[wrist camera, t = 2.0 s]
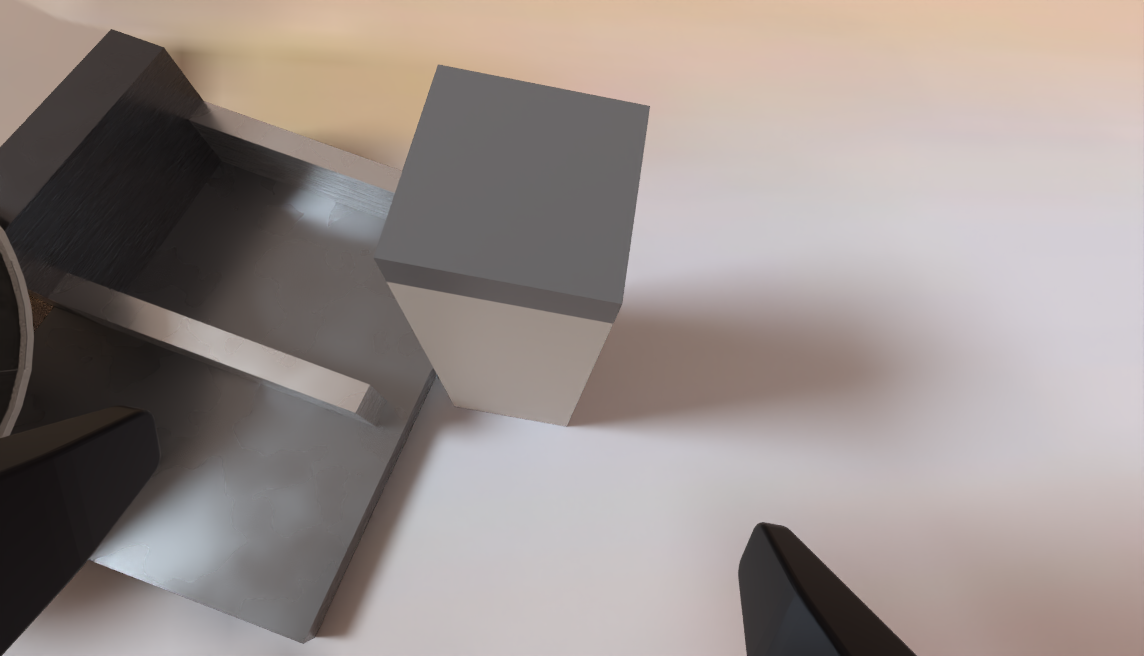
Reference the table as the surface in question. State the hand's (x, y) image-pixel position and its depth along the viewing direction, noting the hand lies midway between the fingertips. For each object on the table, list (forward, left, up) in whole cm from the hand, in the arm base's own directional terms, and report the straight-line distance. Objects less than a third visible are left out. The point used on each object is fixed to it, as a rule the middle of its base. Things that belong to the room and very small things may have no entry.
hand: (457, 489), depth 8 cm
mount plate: (+11, -2, -13) cm, 17 cm away
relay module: (+1, -6, -13) cm, 14 cm away
